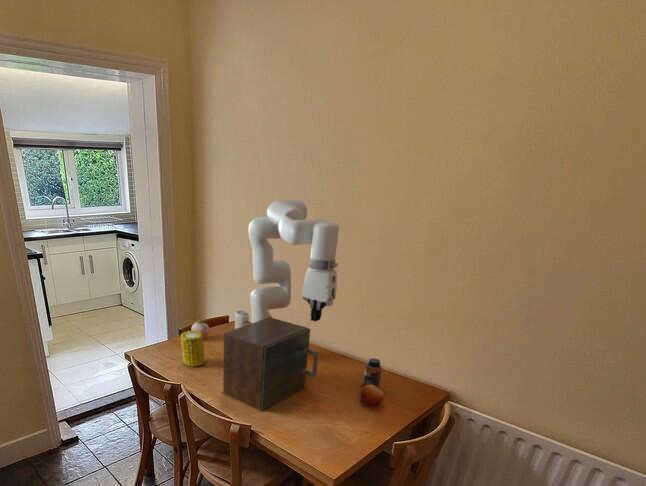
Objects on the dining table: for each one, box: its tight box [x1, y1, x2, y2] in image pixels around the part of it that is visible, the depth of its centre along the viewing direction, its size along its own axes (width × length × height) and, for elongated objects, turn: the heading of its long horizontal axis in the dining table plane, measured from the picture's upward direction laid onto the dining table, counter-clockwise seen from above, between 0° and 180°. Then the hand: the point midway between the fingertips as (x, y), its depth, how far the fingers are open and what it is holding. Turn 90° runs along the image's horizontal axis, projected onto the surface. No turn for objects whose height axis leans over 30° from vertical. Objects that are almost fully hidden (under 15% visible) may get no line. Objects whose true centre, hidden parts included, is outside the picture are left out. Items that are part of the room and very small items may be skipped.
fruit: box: [359, 385, 385, 407], centre depth 147 cm, size 8×8×8 cm
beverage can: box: [234, 310, 250, 330], centre depth 210 cm, size 7×7×12 cm
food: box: [180, 329, 206, 367], centre depth 177 cm, size 15×12×10 cm
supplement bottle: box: [362, 357, 383, 388], centre depth 157 cm, size 6×6×11 cm
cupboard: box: [222, 317, 309, 411], centre depth 153 cm, size 18×26×24 cm
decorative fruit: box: [190, 319, 211, 339], centre depth 204 cm, size 9×8×10 cm
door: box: [260, 328, 319, 412], centre depth 145 cm, size 6×26×24 cm, turn 134°
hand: (315, 320), depth 136 cm, fingers closed
